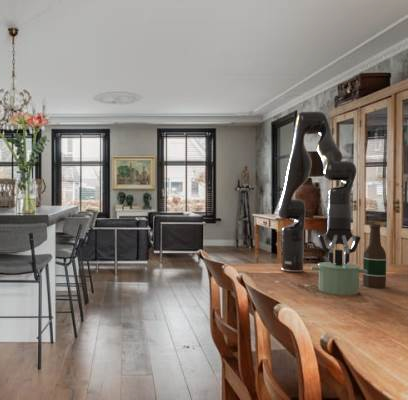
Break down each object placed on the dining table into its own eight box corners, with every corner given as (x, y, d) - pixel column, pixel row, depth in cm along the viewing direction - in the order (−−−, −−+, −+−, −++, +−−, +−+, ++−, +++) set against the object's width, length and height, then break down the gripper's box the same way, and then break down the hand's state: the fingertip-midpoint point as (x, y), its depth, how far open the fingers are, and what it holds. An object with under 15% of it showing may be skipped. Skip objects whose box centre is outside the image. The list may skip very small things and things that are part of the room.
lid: (315, 264, 167) (316, 246, 167) (356, 266, 163) (356, 248, 163) (320, 269, 155) (320, 251, 154) (363, 272, 150) (364, 253, 150)
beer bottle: (378, 289, 164) (379, 225, 164) (358, 285, 171) (359, 224, 171) (390, 287, 168) (391, 224, 168) (370, 283, 175) (371, 223, 175)
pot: (309, 287, 168) (309, 262, 168) (362, 290, 162) (363, 265, 162) (312, 294, 156) (313, 267, 156) (370, 298, 150) (370, 270, 150)
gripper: (359, 216, 160) (358, 263, 160) (316, 215, 164) (315, 260, 165) (363, 217, 152) (363, 266, 153) (318, 216, 157) (318, 263, 157)
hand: (338, 263), depth 159 cm, fingers open, 4 cm apart
